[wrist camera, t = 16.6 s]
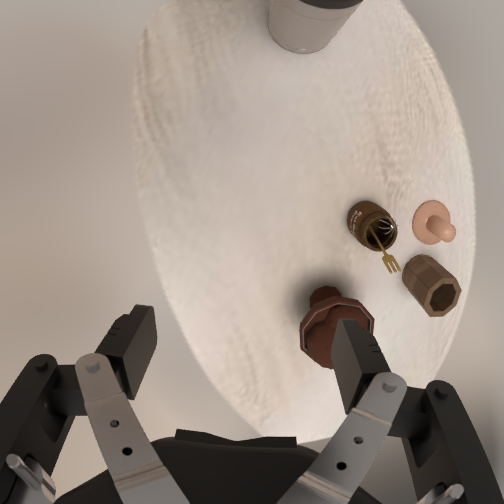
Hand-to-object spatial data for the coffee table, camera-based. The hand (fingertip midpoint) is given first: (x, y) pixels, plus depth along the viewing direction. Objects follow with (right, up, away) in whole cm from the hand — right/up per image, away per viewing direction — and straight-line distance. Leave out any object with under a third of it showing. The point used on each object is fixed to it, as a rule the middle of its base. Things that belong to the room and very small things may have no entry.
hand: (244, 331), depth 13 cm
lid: (+29, +8, +32) cm, 44 cm away
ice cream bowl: (+12, -4, +37) cm, 39 cm away
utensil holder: (+17, +8, +32) cm, 37 cm away
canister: (+29, 0, +35) cm, 45 cm away
